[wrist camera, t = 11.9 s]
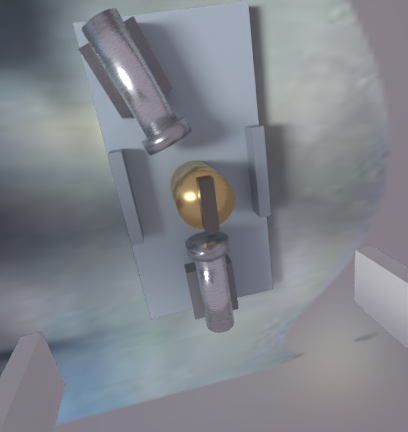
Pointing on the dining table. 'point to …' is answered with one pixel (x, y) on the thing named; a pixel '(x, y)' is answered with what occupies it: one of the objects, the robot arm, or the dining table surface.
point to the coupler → (202, 195)
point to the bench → (193, 154)
